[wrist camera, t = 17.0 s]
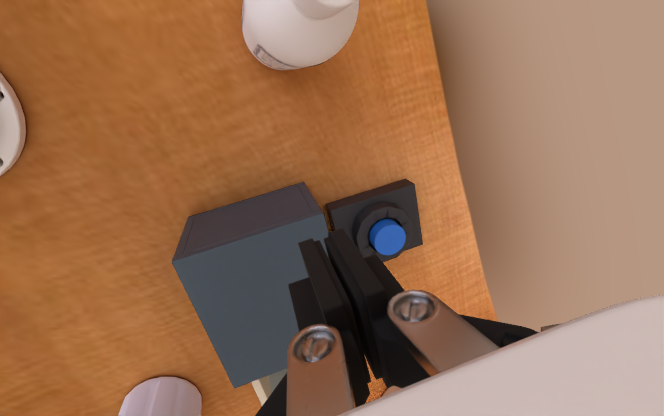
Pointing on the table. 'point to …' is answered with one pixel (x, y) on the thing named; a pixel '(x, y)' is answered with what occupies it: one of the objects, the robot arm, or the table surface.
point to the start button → (387, 236)
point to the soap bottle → (163, 398)
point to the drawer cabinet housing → (249, 276)
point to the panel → (378, 216)
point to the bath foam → (297, 30)
